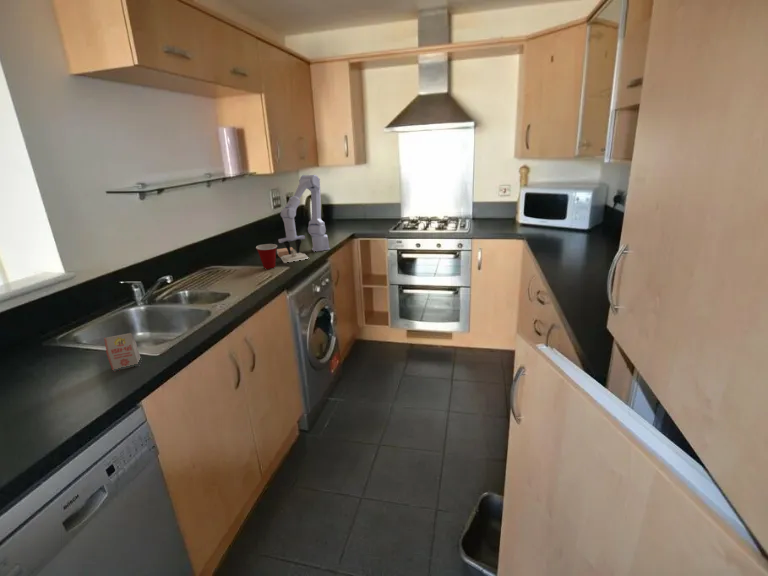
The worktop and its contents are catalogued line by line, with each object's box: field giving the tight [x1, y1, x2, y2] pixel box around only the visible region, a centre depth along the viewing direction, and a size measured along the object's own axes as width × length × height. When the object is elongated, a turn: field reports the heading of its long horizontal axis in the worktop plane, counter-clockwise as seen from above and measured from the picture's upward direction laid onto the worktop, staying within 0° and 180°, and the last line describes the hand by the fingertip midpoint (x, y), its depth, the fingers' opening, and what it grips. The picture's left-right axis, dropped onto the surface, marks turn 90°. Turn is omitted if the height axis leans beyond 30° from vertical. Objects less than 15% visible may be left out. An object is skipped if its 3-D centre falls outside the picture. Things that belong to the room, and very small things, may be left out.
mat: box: [280, 252, 309, 264], centre depth 227 cm, size 14×14×1 cm
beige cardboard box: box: [103, 332, 142, 371], centre depth 117 cm, size 4×7×10 cm, turn 109°
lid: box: [282, 249, 308, 261], centre depth 227 cm, size 11×11×4 cm
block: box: [276, 246, 295, 258], centre depth 238 cm, size 9×9×3 cm
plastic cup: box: [255, 243, 278, 270], centre depth 210 cm, size 11×11×12 cm
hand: (294, 253), depth 227 cm, fingers open, 4 cm apart
